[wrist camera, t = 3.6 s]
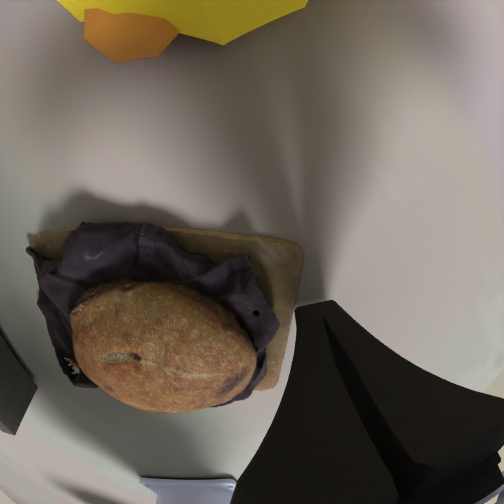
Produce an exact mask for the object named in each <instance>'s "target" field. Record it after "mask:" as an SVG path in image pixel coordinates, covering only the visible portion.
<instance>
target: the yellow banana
mask: <svg viewBox="0 0 504 504" xmlns="http://www.w3.org/2000/svg"><path fill="white" fill-rule="evenodd" d="M57 1H58V2H59V3H60V4H62V5H63V6H64V7H65V8H66V9H67V10H68V11H69V12H70V13H71V14H72V15H73V16H74V17H75V18H76V19H77V20H78V21H79V22H84V33H83V39H84V40H86V41H87V42H88V43H89V44H91V45H92V46H93V47H95V48H96V49H97V50H99V51H100V52H101V53H103V54H104V55H105V56H107V57H108V58H109V59H110V60H112V61H113V62H114V63H120V62H125V61H131V60H137V59H143V58H149V57H156V56H159V55H160V54H161V53H162V52H163V51H164V50H165V48H166V47H167V46H168V45H169V44H170V43H171V42H172V41H173V40H174V38H175V37H176V36H177V35H178V34H179V33H180V34H185V35H189V36H193V37H196V38H200V39H204V40H208V41H211V42H214V43H218V44H221V45H225V44H226V43H228V42H230V41H232V40H234V39H236V38H238V37H240V36H242V35H244V34H246V33H248V32H250V31H252V30H254V29H256V28H258V27H260V26H262V25H264V24H266V23H269V22H271V21H273V20H275V19H278V18H280V17H282V16H285V15H287V14H289V13H292V12H294V11H297V10H299V9H302V8H305V6H306V4H307V2H308V0H57Z"/></svg>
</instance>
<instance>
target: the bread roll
mask: <svg viewBox="0 0 504 504" xmlns="http://www.w3.org/2000/svg"><path fill="white" fill-rule="evenodd" d="M38 235H39V236H41V238H39V236H38ZM47 245H49V247H48V246H47ZM30 246H31V247H27V248H26V252H27V253H28V254H29V255H30V256H32V257H33V260H34V266H35V270H36V274H37V279H38V284H39V298H38V301H37V305H38V307H39V308H40V310H41V311H42V313H43V314H44V316H45V318H46V323H47V328H48V332H49V335H50V338H51V341H52V344H53V347H54V348H55V353H56V356H57V359H58V361H59V365H60V367H61V368H62V370H63V373H64V374H65V375H67V376H68V378H69V380H70V381H71V382H72V383H73V385H74V386H79V387H86V388H97V387H100V388H101V389H103V390H104V391H105V392H106V393H107V394H109V395H111V396H112V397H114V398H116V399H117V400H119V401H121V402H123V403H125V404H127V405H130V406H132V407H135V408H138V409H141V410H144V411H149V412H155V413H164V414H165V413H177V412H188V411H195V410H200V409H204V408H208V407H218V406H223V405H226V404H230V403H232V402H234V401H239V400H244V399H247V398H248V397H249V396H250V395H251V394H252V391H253V390H257V391H265V390H268V389H271V388H273V387H275V386H276V384H277V382H278V380H279V374H280V370H281V364H282V360H283V358H284V353H285V349H286V344H287V339H288V334H289V329H290V324H291V319H292V314H293V309H294V304H295V297H296V293H297V287H298V282H299V277H300V270H301V265H302V259H303V256H302V251H301V248H300V246H299V245H298V244H296V243H295V242H290V241H287V240H280V239H274V238H269V237H263V236H255V235H242V234H235V233H226V232H216V231H207V230H200V229H191V228H186V229H185V228H178V227H162V226H154V225H152V224H149V223H141V224H135V223H129V222H124V223H119V222H115V223H102V224H93V223H84V222H83V221H82V223H81V224H80V226H79V227H75V228H64V229H57V230H51V231H42V232H39V233H38V234H35V235H33V236H31V237H30ZM65 357H66V358H67V359H68V361H67V360H66V359H64V358H65ZM69 363H70V364H71V365H72V366H68V364H69ZM73 366H76V367H78V368H79V370H80V373H79V374H78V373H76V374H72V373H73V372H75V371H74V370H73V369H72V368H73Z"/></svg>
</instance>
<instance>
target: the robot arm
mask: <svg viewBox="0 0 504 504" xmlns="http://www.w3.org/2000/svg"><path fill="white" fill-rule="evenodd" d="M294 311H295V319H296V326H297V330H296V342H295V350H294V356H293V361H292V365H291V370H290V374H289V378H288V381H287V385H286V388H285V391H284V394H283V397H282V400H281V402H280V405H279V407H278V410H277V412H276V415H275V417H274V419H273V421H272V424H271V426H270V428H269V430H268V432H267V434H266V435H265V437H264V439H263V441H262V443H261V445H260V447H259V449H258V450H257V452H256V454H255V455H254V457H253V458H252V460H251V461H250V463H249V464H248V466H247V467H246V469H245V470H244V472H243V473H242V475H241V476H240V478H239V479H238V481H237V483H236V481H235V480H233V479H214V480H172V479H153V478H140V480H139V482H140V483H141V484H142V485H143V486H145V487H146V488H148V489H149V490H150V491H152V492H153V493H154V494H156V495H157V502H156V504H484V503H486V502H487V501H489V500H490V499H491V498H493V497H495V496H496V495H498V494H499V493H500V494H499V496H498V499H497V502H496V503H495V504H504V471H503V472H501V471H500V469H499V467H498V464H499V463H500V462H501V458H500V456H499V454H498V451H499V450H500V449H501V447H502V446H503V445H504V399H503V398H500V397H495V396H492V395H488V394H484V393H480V392H477V391H473V390H470V389H468V388H465V387H462V386H459V385H456V384H454V383H451V382H449V381H447V380H444V379H442V378H440V377H438V376H436V375H434V374H432V373H430V372H427V371H425V370H423V369H422V368H420V367H418V366H416V365H414V364H413V363H411V362H409V361H408V360H406V359H405V358H403V357H401V356H400V355H398V354H397V353H395V352H394V351H393V350H391V349H390V348H388V347H387V346H386V345H384V344H383V343H382V342H380V341H379V340H378V339H376V338H375V337H374V336H373V335H372V334H370V333H369V332H368V331H367V330H366V329H364V328H363V327H362V326H361V325H360V324H359V323H357V322H356V321H355V320H354V319H353V318H352V317H351V316H350V315H349V314H348V313H347V312H345V311H344V310H343V309H342V308H341V307H340V306H339V305H338V304H337V303H336V302H335V301H334V300H329V301H324V302H320V303H315V304H310V305H305V306H300V307H297V308H296V309H295V310H294Z"/></svg>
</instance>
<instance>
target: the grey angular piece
mask: <svg viewBox="0 0 504 504" xmlns="http://www.w3.org/2000/svg"><path fill="white" fill-rule="evenodd" d="M37 388H38V387H37V385H36V384H35V383H34V382H33V380H32V379H31V378H30V376H29V375H28V374H27V372H26V371H25V370H24V368H23V367H22V366H21V364H20V363H19V362H18V360H17V359H16V357H15V356H14V354H13V353H12V351H11V350H10V348H9V347H8V345H7V344H6V342H5V341H4V339H3V338H2V336H1V335H0V429H1V430H2V431H3V432H5V433H8V434H12V435H15V434H16V432H17V430H18V428H19V425H20V423H21V421H22V419H23V417H24V415H25V412H26V410H27V408H28V406H29V404H30V402H31V400H32V398H33V396H34V394H35V392H36V390H37Z"/></svg>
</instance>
